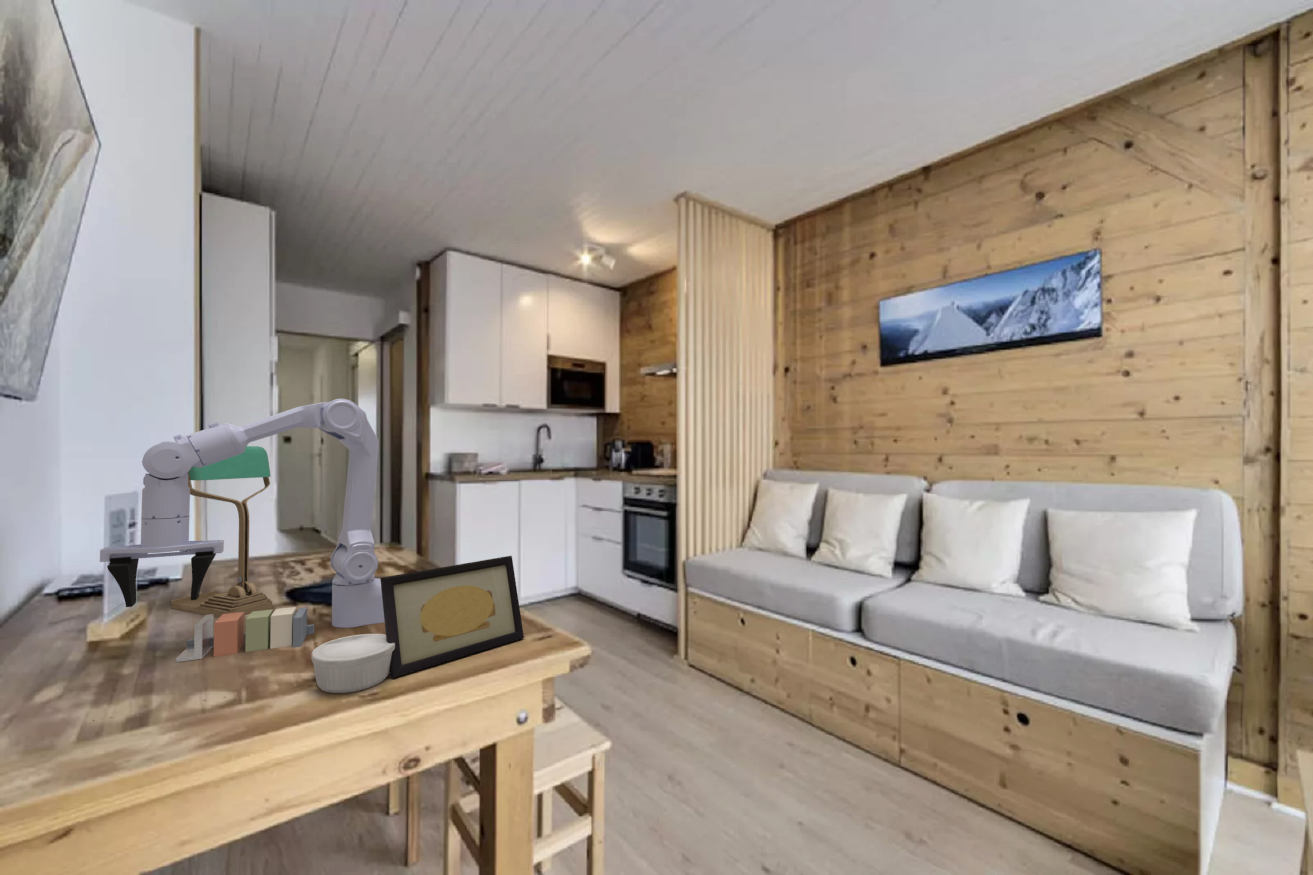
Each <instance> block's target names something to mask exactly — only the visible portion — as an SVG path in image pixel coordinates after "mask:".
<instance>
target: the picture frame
mask: <svg viewBox="0 0 1313 875" xmlns="http://www.w3.org/2000/svg"><path fill="white" fill-rule="evenodd" d="M379 579H380V580H381V591H382V601H383V611H384V621H385V622H384V630H385V631H384V632H385V635H386V642H388V643H390V644H391V643H395V649H394V650H393V651H392V656H391V662H390V673H389V678H390V679H395V678H398V677H401V676H403V675H404V676H405V675H407V674H410V673H413V672H417V671H420V670H424V669H426V668H430V667H434V666H437V665H440V664H443V663H446V662H451V661H452V660H457V659H459V658H463V657H467V656H470V655H472V654H476V653H479V652H483V651H486V650H489V649H492V648H493V649H494V648H496V647H498V646H502V645H505V644H509V643H512V642H516V641H519V640H522V639H524V638H525V635H524V629H523V622H522V615H521V609H520V601H519V596H518V588H517V581H516V576H515V568H514V561H513V555H507V556H499V557H496V558H489V559H488V558H487V559H484V560H478V561H472V562H466V563H459V564H455V565H448V566H443V567H437V568H430V569H425V570H419V571H412V572H406V573H402V574H395V575H388V576H383V577H382V576H381V577H379Z"/></svg>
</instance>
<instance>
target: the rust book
mask: <svg viewBox="0 0 1313 875" xmlns="http://www.w3.org/2000/svg"><path fill="white" fill-rule="evenodd" d="M245 617H246V615H245V612H238V613H229V614H223V615H222V616H221V617H220V618H219V617H218V619H216V621H214V622H213V636H214V646H213V657H222V656H229V655H237V654H238V653H239V651H240V650H241V648H242V647H243V646H244V644H245V642H244V633H245V625H246V618H245Z"/></svg>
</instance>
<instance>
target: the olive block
mask: <svg viewBox="0 0 1313 875" xmlns="http://www.w3.org/2000/svg"><path fill="white" fill-rule="evenodd" d="M273 613H274V609H272V608H270V609H266V610H262V611H253V612H252V613H251V614H248V616H247V617H246V618H245V633H246V642H245V643H244V644H245V648H244V651H245V653H249V652H256V651H263V650H268V649H269V648H270V638H271V615H272V614H273Z"/></svg>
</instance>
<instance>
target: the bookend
mask: <svg viewBox="0 0 1313 875" xmlns="http://www.w3.org/2000/svg"><path fill="white" fill-rule="evenodd" d="M193 635H194V637H193V639H194V646H189V647H187V646H186V648H185V649H184V650H183V651H182V652H181V653H180V654H178V656H177V657H176V658H175V662H176V663H180V662H188V661H194V660H202V659H204V658H205V656H206V655H207V654H208V653H209V652H210V651H211V649H212V648H214V646H213V636H214V617H213V614H210V615H203V617H201V619H200V620H198V621H197V622H196V623H195V624H194V634H193Z"/></svg>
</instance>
